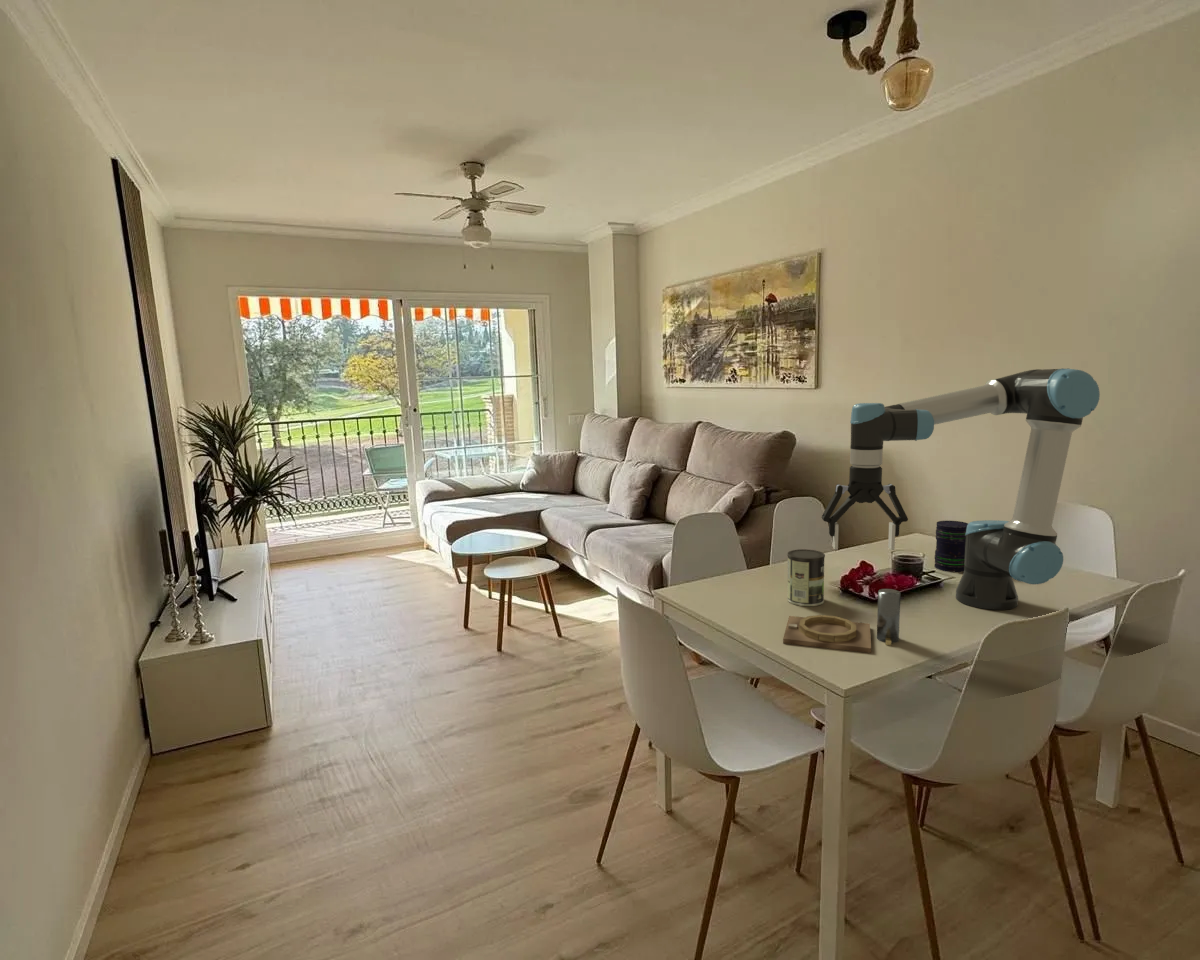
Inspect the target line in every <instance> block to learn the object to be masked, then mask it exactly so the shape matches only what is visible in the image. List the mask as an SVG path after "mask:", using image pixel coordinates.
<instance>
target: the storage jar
mask: <svg viewBox="0 0 1200 960" xmlns="http://www.w3.org/2000/svg"><path fill="white" fill-rule="evenodd" d="M968 524H969V522H964V521H960V520H958V521H957V520H939V521H937V522H936V524H935V525H936V527H935V528H936V529H935V540H936V541H935V542H936V543H935V551H934V558H933V559H934V568H935V569H937V570H939V571H942V572H948V573H964V563H965V544H966V536H965V534H966V529H967V525H968Z"/></svg>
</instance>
